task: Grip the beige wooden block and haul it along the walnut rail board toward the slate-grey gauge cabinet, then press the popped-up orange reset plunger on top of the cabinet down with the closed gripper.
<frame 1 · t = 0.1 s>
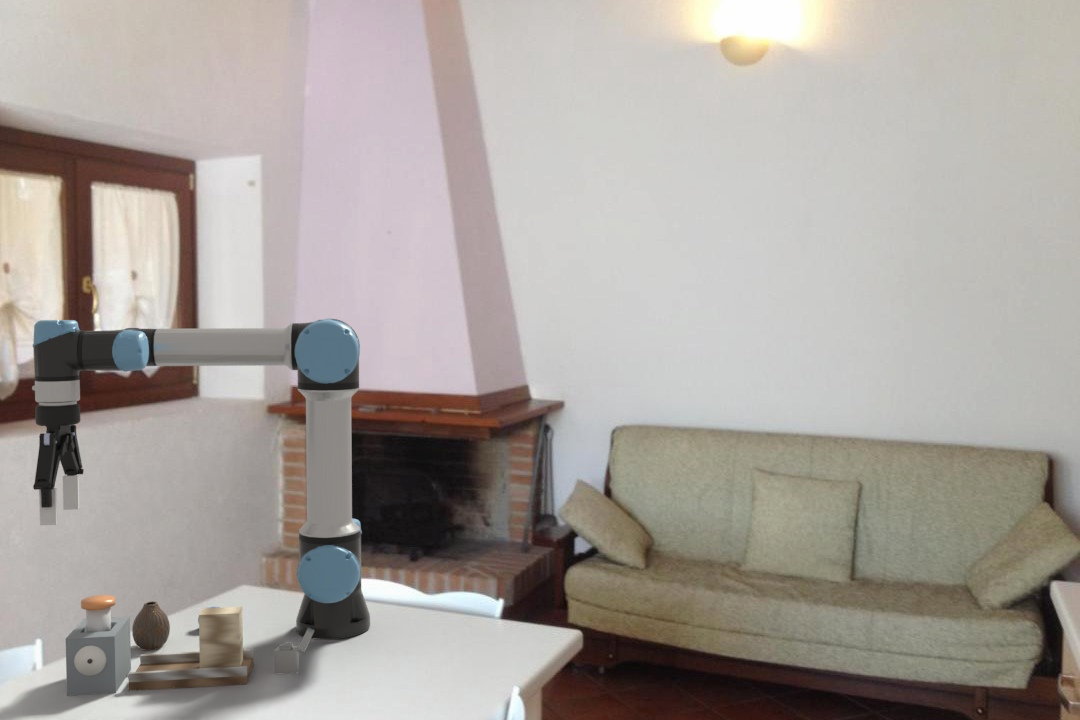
hand: (60, 516, 187), 28 cm above the table, fingers open, 13 cm apart
gauge cabinet: (100, 682, 179), on the table
rail board: (193, 677, 182), on the table
reset plunger: (98, 621, 179), point 11 cm above the table, slide at 0.0 cm
decorative dice: (212, 629, 209), on the table
vase: (151, 647, 198), on the table
beige wooden block: (221, 637, 182), point 7 cm above the table, slide at -5.0 cm
lighter: (295, 672, 185), on the table
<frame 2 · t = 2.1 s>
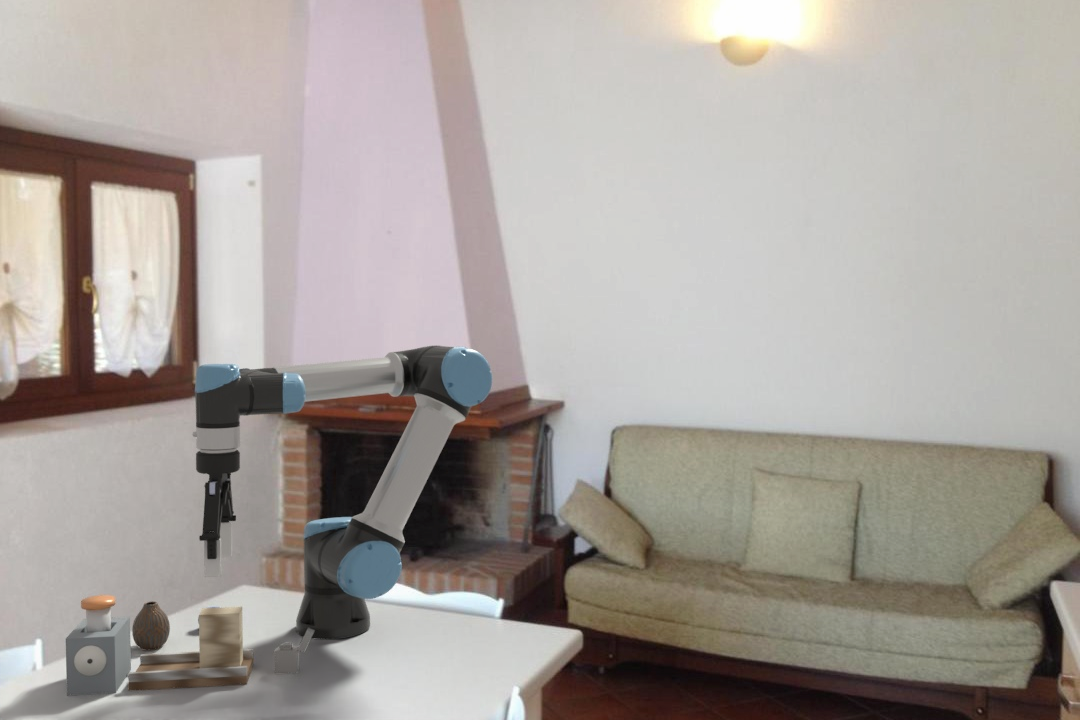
hand: (218, 566, 181), 20 cm above the table, fingers open, 13 cm apart
nothing on the table moved.
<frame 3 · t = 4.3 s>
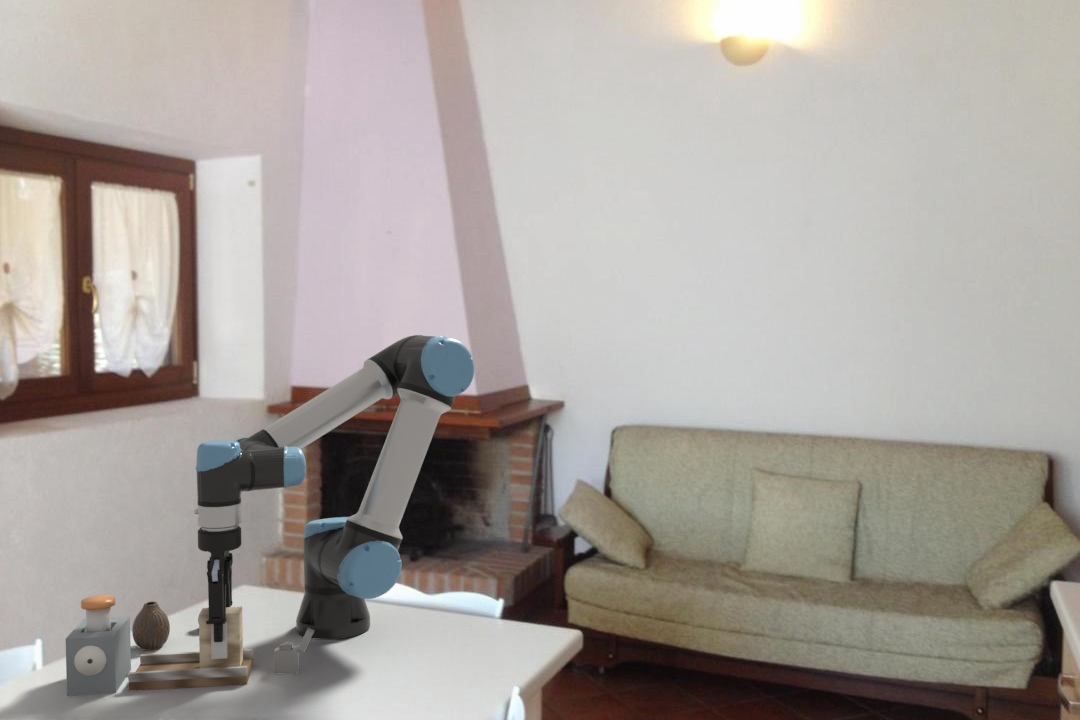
hand: (221, 653, 182), 4 cm above the table, fingers closed on beige wooden block, 4 cm apart
beige wooden block: (221, 637, 182), point 7 cm above the table, slide at -5.0 cm, touching gripper
everything else where it was.
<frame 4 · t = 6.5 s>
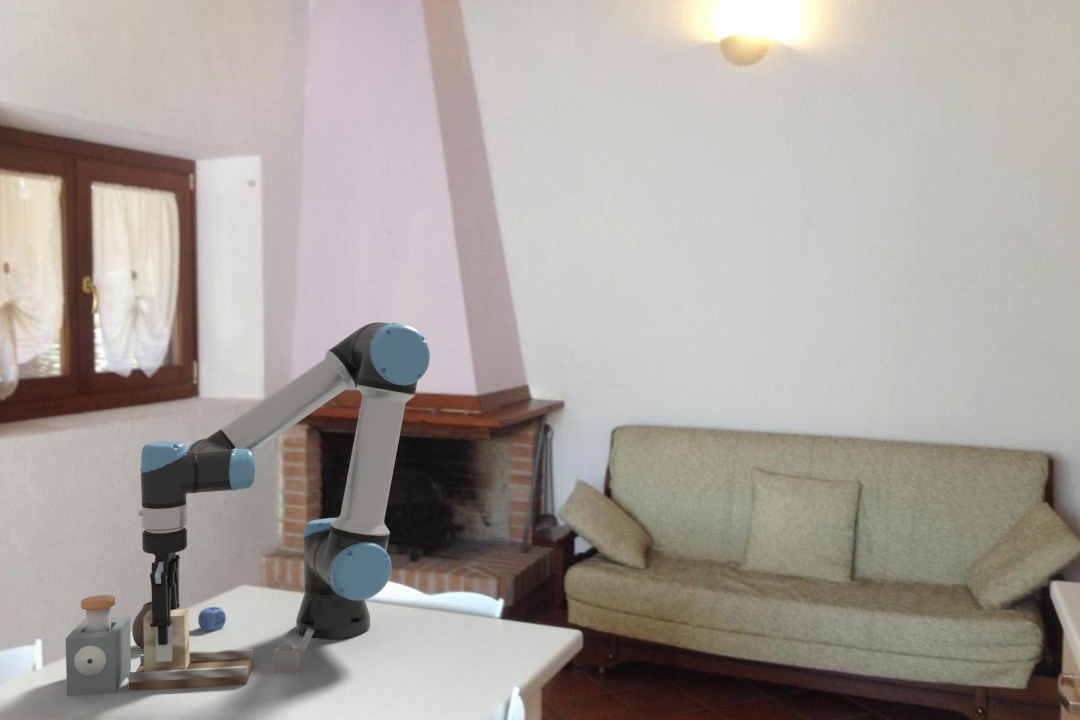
hand: (167, 656, 181), 4 cm above the table, fingers closed on beige wooden block, 4 cm apart
beige wooden block: (166, 640, 181), point 7 cm above the table, slide at 4.5 cm, touching gripper
everything else where it was.
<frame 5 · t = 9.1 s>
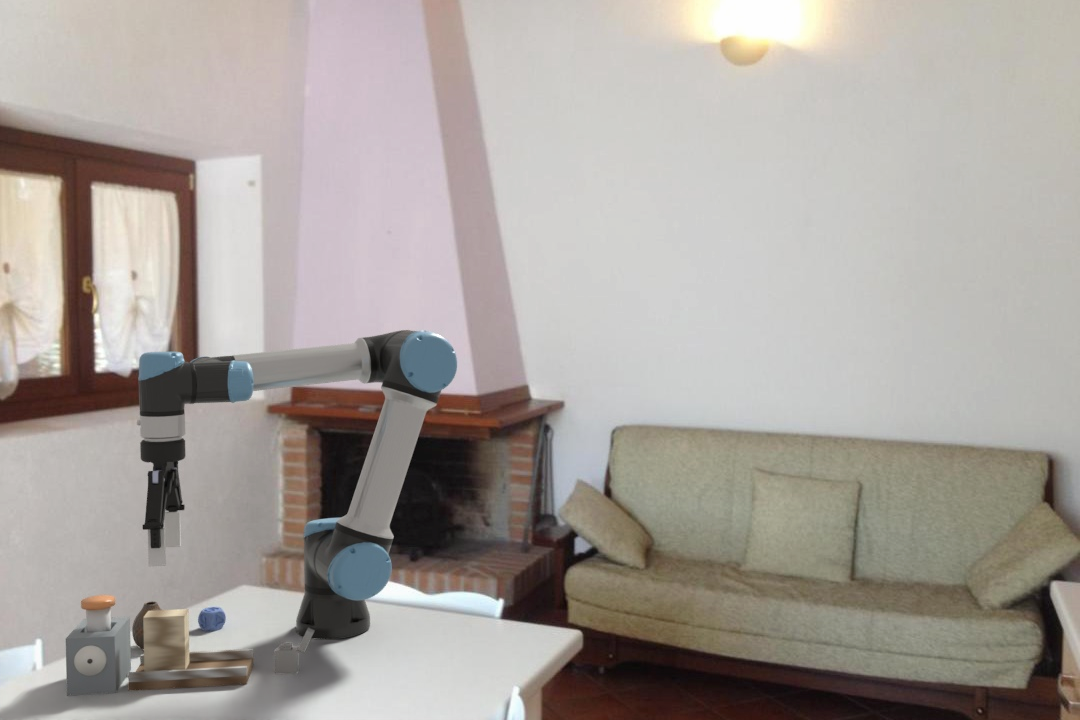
hand: (165, 555, 180), 22 cm above the table, fingers open, 13 cm apart
beige wooden block: (166, 640, 181), point 7 cm above the table, slide at 4.5 cm
everything else where it was.
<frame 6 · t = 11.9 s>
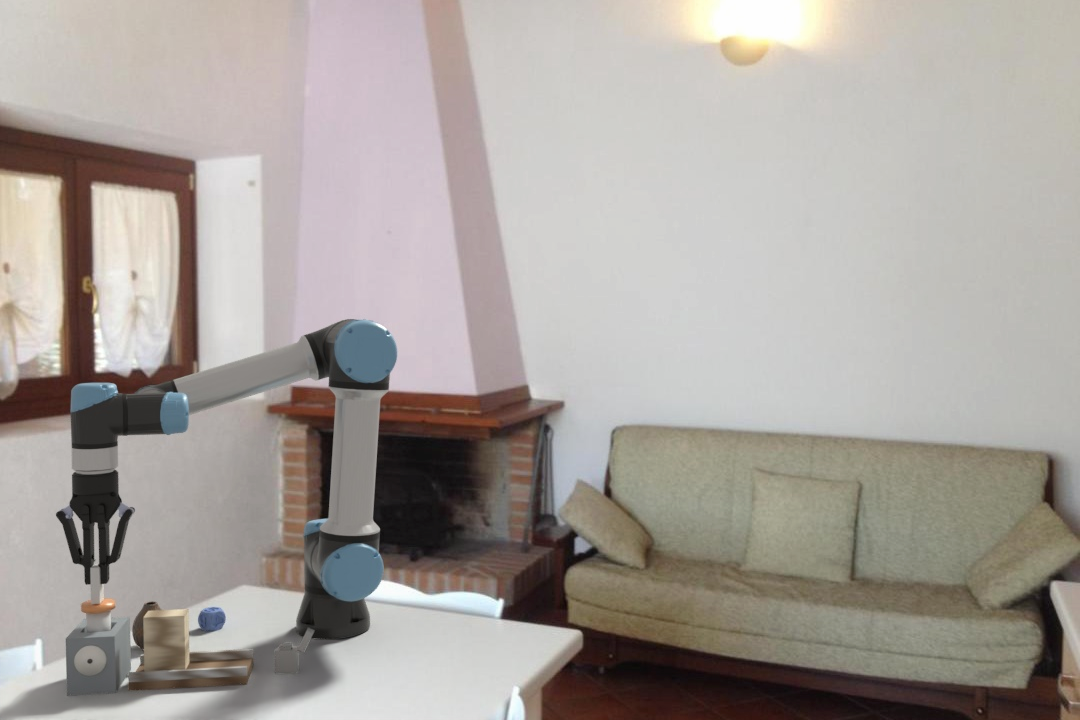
hand: (97, 601, 178), 15 cm above the table, fingers closed
reset plunger: (98, 625, 179), point 10 cm above the table, slide at 0.6 cm, touching gripper
everything else where it was.
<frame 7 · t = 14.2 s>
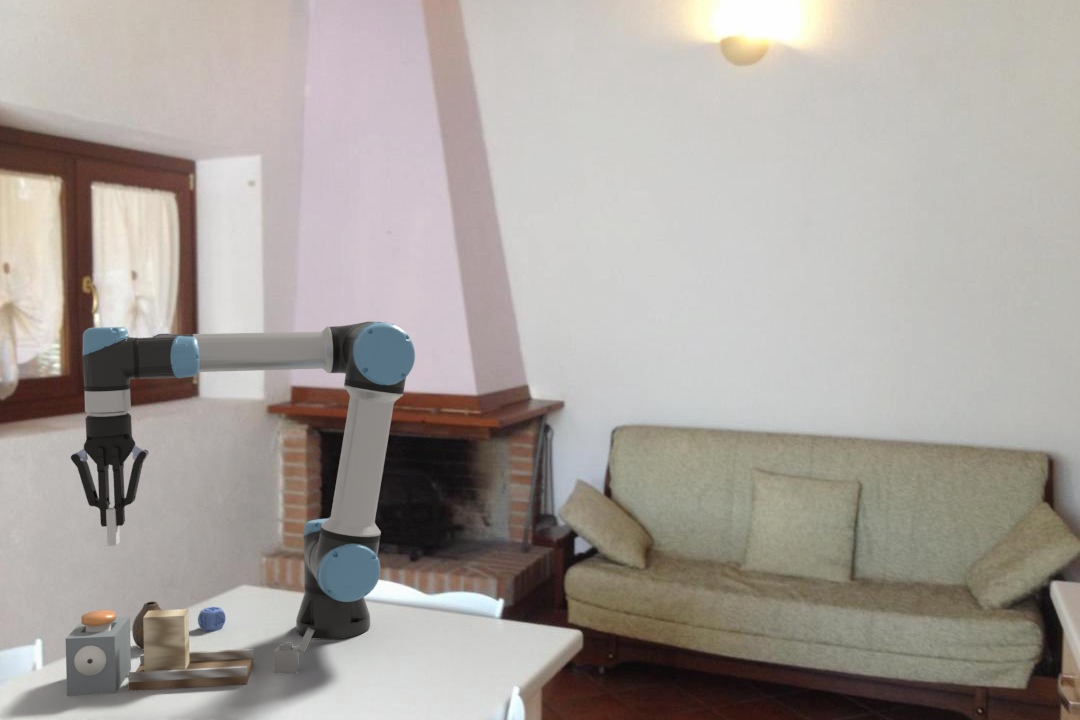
hand: (113, 543, 180), 25 cm above the table, fingers closed
reset plunger: (99, 637, 179), point 8 cm above the table, slide at 2.8 cm
everything else where it was.
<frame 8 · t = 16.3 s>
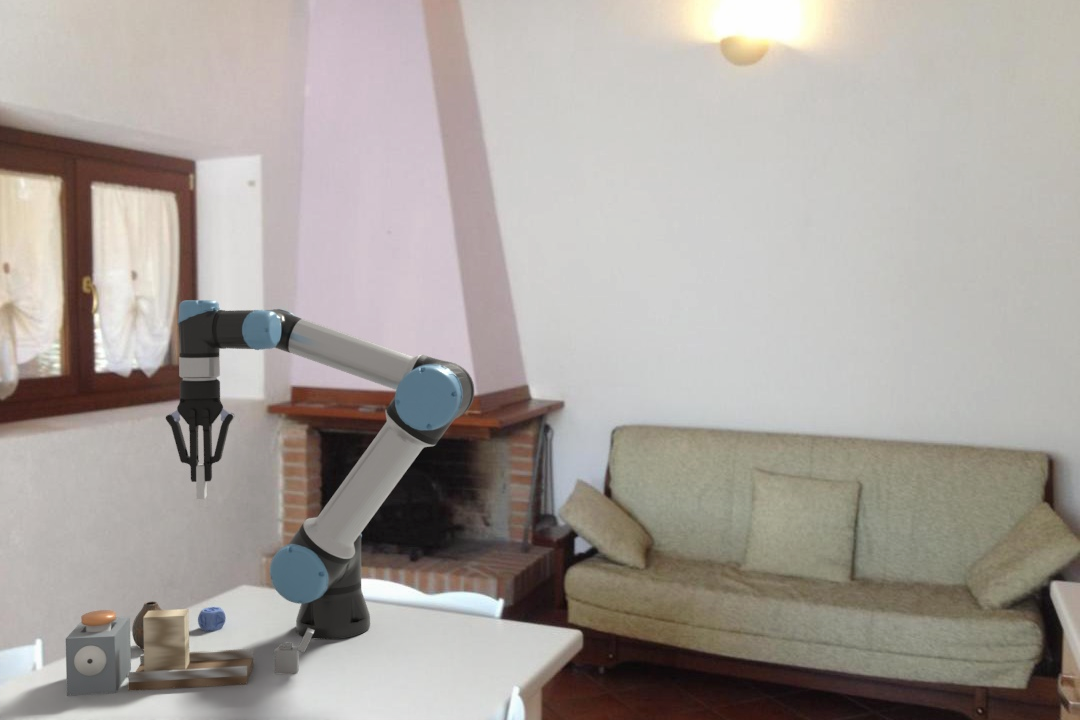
hand: (201, 497, 198), 29 cm above the table, fingers closed
nothing on the table moved.
at the end: beige wooden block slide at 4.5 cm; reset plunger slide at 2.8 cm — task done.
